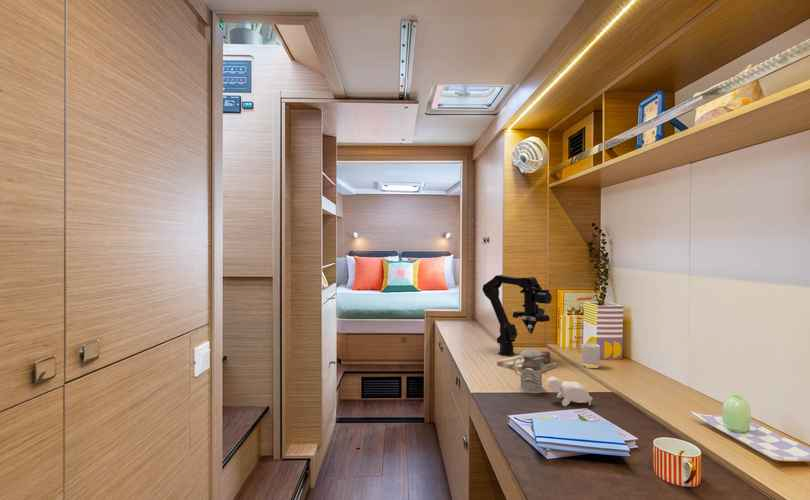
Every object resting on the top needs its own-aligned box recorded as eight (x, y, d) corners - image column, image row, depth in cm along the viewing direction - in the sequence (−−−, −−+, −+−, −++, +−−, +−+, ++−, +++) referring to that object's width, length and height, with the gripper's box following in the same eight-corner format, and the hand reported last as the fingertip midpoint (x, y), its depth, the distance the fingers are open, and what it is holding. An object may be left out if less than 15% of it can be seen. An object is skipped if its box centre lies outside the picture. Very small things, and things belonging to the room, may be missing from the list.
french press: (547, 393, 147) (544, 327, 148) (515, 392, 150) (512, 326, 150) (543, 385, 157) (541, 322, 157) (513, 384, 159) (511, 322, 160)
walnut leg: (545, 359, 185) (545, 351, 186) (552, 361, 183) (551, 352, 183) (523, 365, 176) (523, 356, 176) (530, 367, 173) (530, 358, 174)
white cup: (578, 365, 182) (577, 344, 183) (590, 363, 186) (589, 342, 186) (592, 370, 175) (591, 347, 175) (604, 367, 179) (603, 345, 179)
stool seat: (496, 364, 187) (496, 352, 187) (521, 358, 197) (521, 346, 197) (531, 374, 171) (531, 361, 171) (556, 367, 181) (556, 354, 181)
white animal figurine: (580, 406, 142) (540, 390, 144) (588, 384, 142) (548, 368, 144) (588, 415, 134) (545, 398, 136) (596, 392, 134) (553, 375, 136)
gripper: (556, 302, 192) (557, 334, 192) (526, 299, 208) (527, 328, 208) (541, 304, 186) (542, 337, 186) (511, 301, 202) (512, 331, 202)
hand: (530, 333), depth 195 cm, fingers closed
